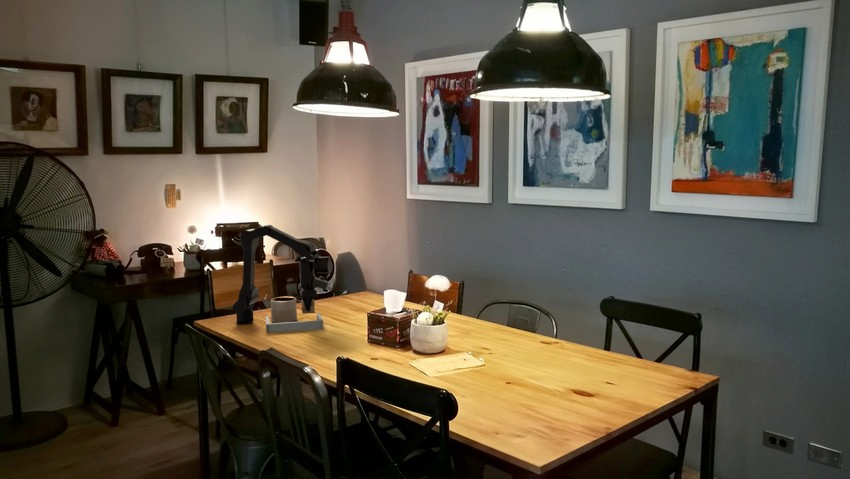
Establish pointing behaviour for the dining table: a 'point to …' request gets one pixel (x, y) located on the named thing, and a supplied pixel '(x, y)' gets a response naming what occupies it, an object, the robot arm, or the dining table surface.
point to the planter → (283, 309)
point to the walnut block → (312, 308)
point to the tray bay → (294, 325)
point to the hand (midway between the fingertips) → (307, 309)
